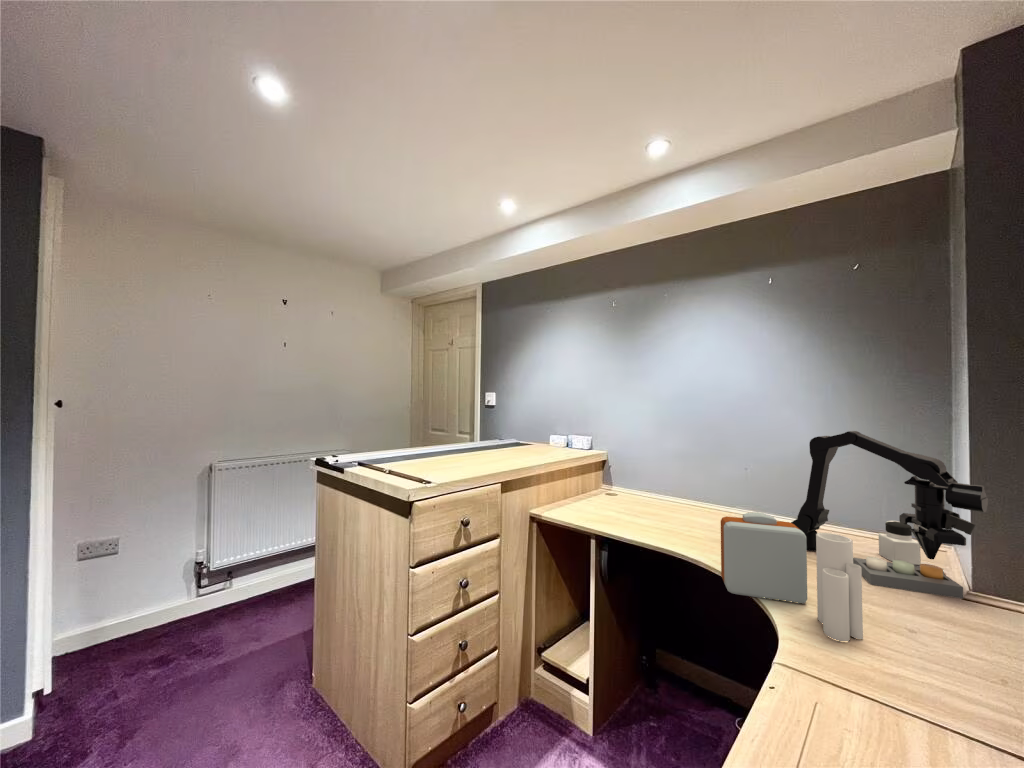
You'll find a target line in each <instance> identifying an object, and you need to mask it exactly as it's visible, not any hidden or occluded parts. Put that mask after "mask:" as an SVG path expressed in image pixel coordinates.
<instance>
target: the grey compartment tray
mask: <svg viewBox="0 0 1024 768" xmlns="http://www.w3.org/2000/svg"><path fill="white" fill-rule="evenodd" d="M853 564H856V565H859V566H861V569H862V578H863V579H864V580H865V581H866V582H867V583H868V584H870V585H872V586H878V587H884V588H890V589H898V590H905V591H911V592H916V593H921V594H929V595H936V596H944V597H950V598H956V599H964V586H962V585H961V584H959V583H957V582H956V581H955V580H953V579H952V578H950V576H947V575H946V574H944V573H943V580H941V579H934V578H927V577H924V576H923V575H921V574H920V565H914V573H915V576H913V575H906V574H899V573H896V572H895V571H893V562H892V561H887V572H885V571H878V570H871V569H868V568H867V567H866V558H860V557H853Z"/></svg>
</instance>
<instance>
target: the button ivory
mask: <svg viewBox="0 0 1024 768" xmlns="http://www.w3.org/2000/svg"><path fill="white" fill-rule="evenodd" d="M865 559H866V567H867V568H868V569H871V570H878V571H885V572H887V562H888V561H886V560H885V559H883V558H879V557H876V556H866V557H865Z"/></svg>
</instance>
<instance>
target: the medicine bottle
mask: <svg viewBox="0 0 1024 768" xmlns="http://www.w3.org/2000/svg"><path fill="white" fill-rule="evenodd" d="M910 529H913V528H912V526H911V525H910V524H908V523H907V524H903V523H901V522H900V521H898V520H887V521H886V522H885V533H881V532H879V533H878V535H877V537H878V555H880V556H881V557H883V558H885V559H886V560H888V561H889V562H891V563H893V560H900V561H905V562H909V563H911V564H913V565H914V566H920V564H922V562H921V546H920V544H919V543H918V541H917V540H915V539H913V536H912V535H913V533H912V531H911V530H910Z"/></svg>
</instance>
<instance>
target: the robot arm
mask: <svg viewBox="0 0 1024 768" xmlns="http://www.w3.org/2000/svg"><path fill="white" fill-rule="evenodd" d="M849 445H853V446H854V447H858V448H860V449H862V450H865V451H866V452H869V453H871V454H874V455H876V456H879V457H881V458H884V459H885V460H888V461H891V462H893V463H895V464H896V465H898V466H900V467H901V468H902V469H903V470H905V471H906V472H908V473H910V474H911V475H912V476H911V477H910V478H909V479H908V480H906V481H904V482H903V483H904V484H905V485H910V486H914V502H912V503H910V504H911V507H912V508H913V509H914V513H908V512H903V513H901V514H899V522H901V523H903V524H908V523H910V524H912V525H913V528H912V529H910V530H911V531H912V535H913V536H914V537H915V539H916V541H917V542H918V543H919V544H920V549H922V551H923V553H924V554H925V556H926V558H927V559H929V560H934V559H936V556H937V555H938V552H939V549H940V548H941V546H942V544H947V545H953V546H954V545H956V546H963V547H964V546H967V537H965V536H964V535H963V534H961V533H960V532H963V533H965V534H966V535H968V536H971V535H972V534H973V531H974V530H975V528H976V524H975V523H972V522H971V521H968V520H966V519H963V518H961V516H960V514H959V513H956V512H954V511H952V510H949V509H947V508H945V505H946V504H945V502H947V504H948V505H951V507H952V508H956V509H960V510H961V509H962V510H968V511H973V512H974V511H975V512H979V513H986V512H987V511H988V505H989V498H988V497H987V493H986V491H985V486H984V485H980V484H967V483H961V482H960V483H959V482H958V481H957V480H956V478H954V477H953V475H951V474H950V473H949V472H948V470H947V467H946V465H945V462H943V461H942V460H941V459H938V458H936V457H931V456H928V455H923V454H919V453H914V452H909V451H905V450H904V449H901V448H898V447H895V446H893V445H891V444H887V443H886V442H883V441H880V440H878V439H875V438H873V437H870V436H869V435H866V434H863V433H861V432H859V431H857V430H850V431H849V430H848V431H846V432H843V433H839V434H835V435H820V436H814V437H813V438H811V439H810V440H809V455H810V457H811V461H812V462H811V468H810V474H809V481H808V487H807V491H806V499H805V502H804V503H803V504H802V506H801V507H800V509H799V512H798V514H797V516H796V517H797V518H796V519H795V520H793V521H791V522H790V523H792V524H794V525H795V526H797V527H798V528H799V529H800V530H801V531H802V532H803V533H804V534H805V536H806V545H807V551H810V552H811V551H812V552H816V534H817V533H818V531H817V530H819V529H820V528H821V526H824V525H825V524H826V522H828V521H829V517H828V516H829V513H830V509H827V508H825V506H824V498H825V497H824V496H825V493H826V492H825V491H826V486H827V481H828V474H829V469H830V464H831V462H832V460H833V459H834V458H835V456H836V453H837V452H838V449H839V448H841V447H845V446H849ZM953 529H955V530H957V531H955V530H953ZM959 531H960V532H959Z"/></svg>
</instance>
